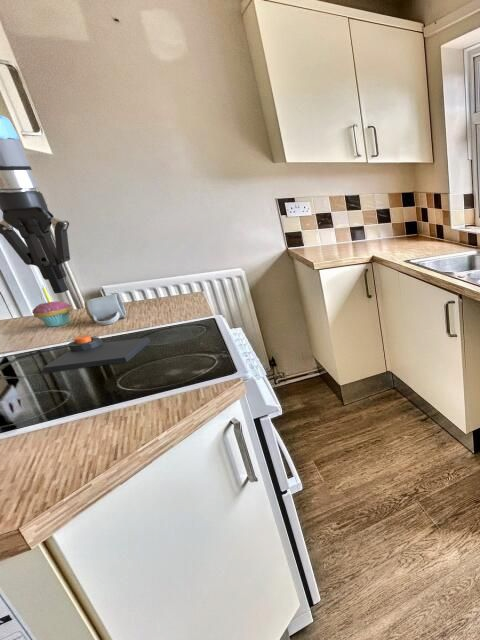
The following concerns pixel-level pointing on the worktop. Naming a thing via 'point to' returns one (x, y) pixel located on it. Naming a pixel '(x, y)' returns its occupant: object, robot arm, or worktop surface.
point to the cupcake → (53, 312)
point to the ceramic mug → (105, 309)
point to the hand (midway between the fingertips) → (61, 291)
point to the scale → (97, 354)
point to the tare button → (82, 339)
